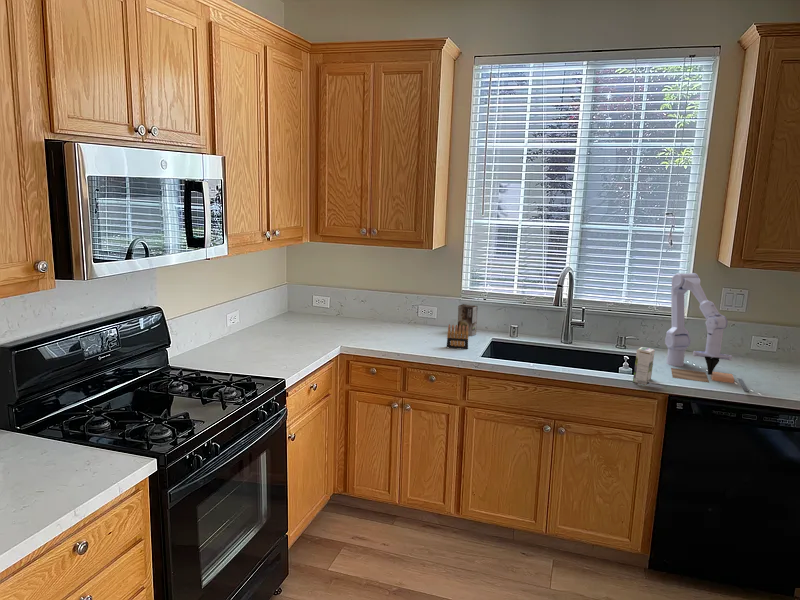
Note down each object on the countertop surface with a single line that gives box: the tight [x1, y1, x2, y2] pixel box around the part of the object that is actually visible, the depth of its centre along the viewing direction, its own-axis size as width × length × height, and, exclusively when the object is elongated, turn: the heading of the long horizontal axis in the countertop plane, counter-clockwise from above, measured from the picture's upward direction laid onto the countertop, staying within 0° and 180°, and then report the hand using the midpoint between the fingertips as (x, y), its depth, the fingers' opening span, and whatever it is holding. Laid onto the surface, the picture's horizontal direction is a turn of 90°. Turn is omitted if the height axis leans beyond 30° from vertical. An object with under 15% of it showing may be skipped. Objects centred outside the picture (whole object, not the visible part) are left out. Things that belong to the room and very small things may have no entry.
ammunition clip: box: [446, 324, 469, 350], centre depth 290 cm, size 11×2×12 cm, turn 82°
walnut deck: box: [670, 367, 710, 384], centre depth 253 cm, size 16×14×2 cm
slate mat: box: [737, 377, 750, 393], centre depth 248 cm, size 18×14×1 cm
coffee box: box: [457, 303, 478, 337], centre depth 319 cm, size 9×6×16 cm
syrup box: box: [632, 346, 656, 386], centre depth 244 cm, size 6×6×14 cm
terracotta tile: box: [709, 371, 735, 384], centre depth 248 cm, size 7×8×3 cm
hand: (709, 374), depth 250 cm, fingers closed
